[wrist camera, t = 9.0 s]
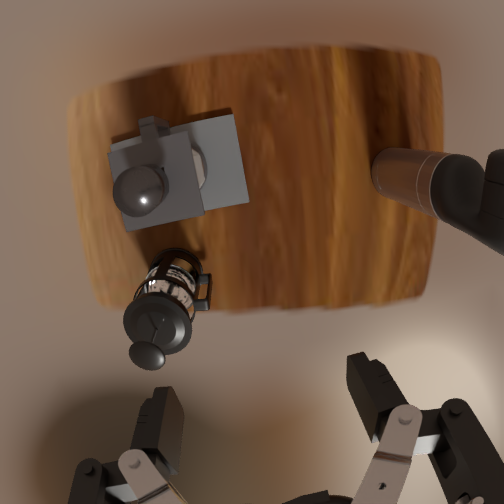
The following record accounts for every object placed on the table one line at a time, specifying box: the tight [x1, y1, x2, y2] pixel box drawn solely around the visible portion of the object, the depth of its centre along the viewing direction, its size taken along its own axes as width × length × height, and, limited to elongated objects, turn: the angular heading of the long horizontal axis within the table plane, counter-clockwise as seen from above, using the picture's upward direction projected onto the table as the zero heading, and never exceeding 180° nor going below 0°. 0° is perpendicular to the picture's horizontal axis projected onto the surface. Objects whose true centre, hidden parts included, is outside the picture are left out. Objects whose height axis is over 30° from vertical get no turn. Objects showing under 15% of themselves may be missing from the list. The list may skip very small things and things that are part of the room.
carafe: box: [107, 115, 208, 232], centre depth 37 cm, size 9×12×15 cm
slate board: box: [110, 114, 249, 211], centre depth 45 cm, size 20×14×1 cm
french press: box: [123, 248, 212, 371], centre depth 40 cm, size 12×9×23 cm
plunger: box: [113, 164, 169, 217], centre depth 31 cm, size 4×4×15 cm
